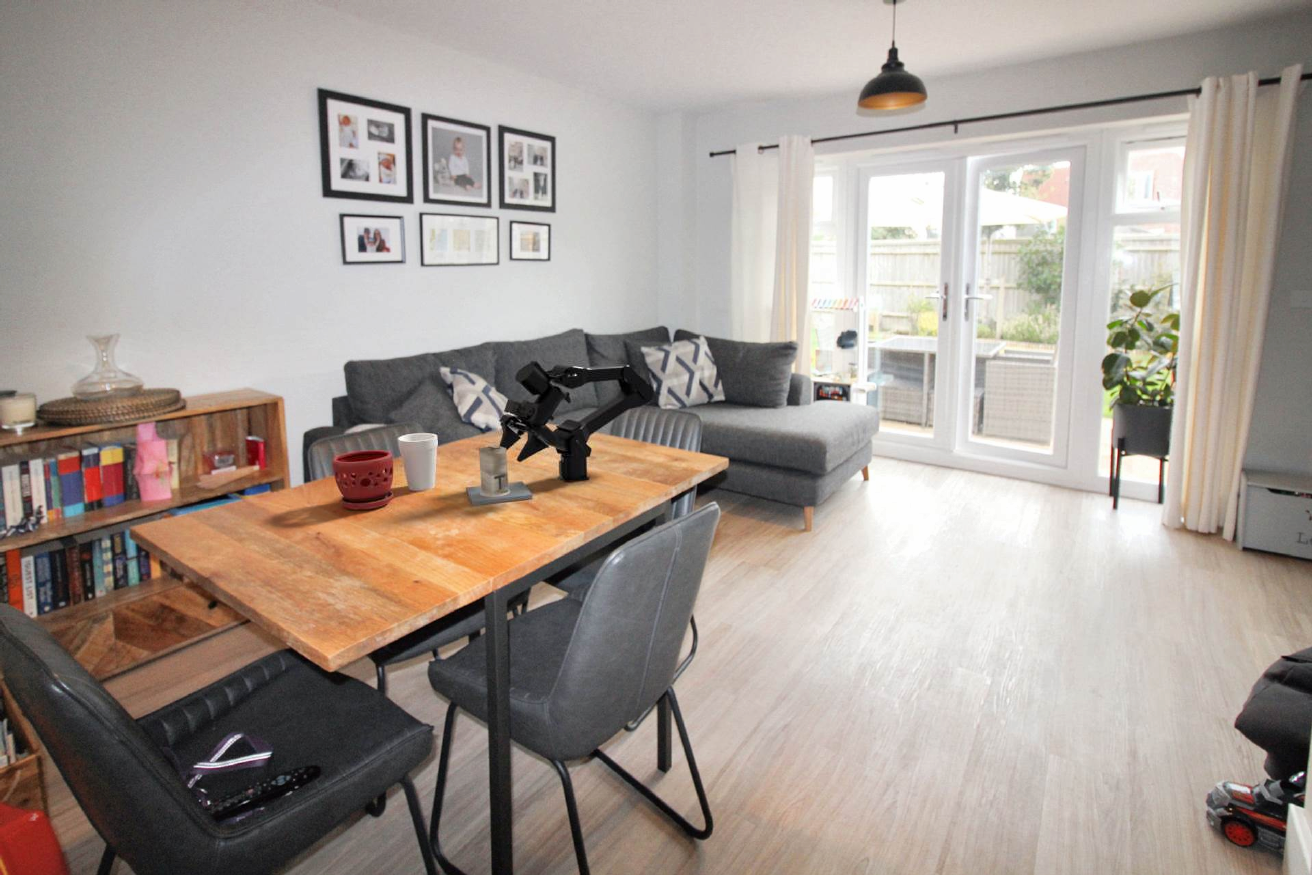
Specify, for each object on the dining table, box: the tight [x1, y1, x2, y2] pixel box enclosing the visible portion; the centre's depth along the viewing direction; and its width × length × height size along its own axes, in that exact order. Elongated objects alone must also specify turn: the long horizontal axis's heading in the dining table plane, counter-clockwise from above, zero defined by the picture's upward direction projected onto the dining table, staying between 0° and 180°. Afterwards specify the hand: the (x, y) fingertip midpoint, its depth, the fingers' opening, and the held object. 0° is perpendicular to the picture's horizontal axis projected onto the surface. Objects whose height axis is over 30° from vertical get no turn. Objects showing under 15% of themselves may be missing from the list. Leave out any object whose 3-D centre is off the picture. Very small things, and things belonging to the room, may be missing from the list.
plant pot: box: [331, 449, 394, 511], centre depth 174 cm, size 13×13×12 cm
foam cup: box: [397, 432, 439, 492], centre depth 187 cm, size 10×9×13 cm
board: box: [465, 480, 533, 507], centre depth 182 cm, size 14×12×1 cm
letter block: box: [478, 444, 509, 496], centre depth 179 cm, size 5×5×11 cm
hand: (508, 457), depth 181 cm, fingers open, 9 cm apart
